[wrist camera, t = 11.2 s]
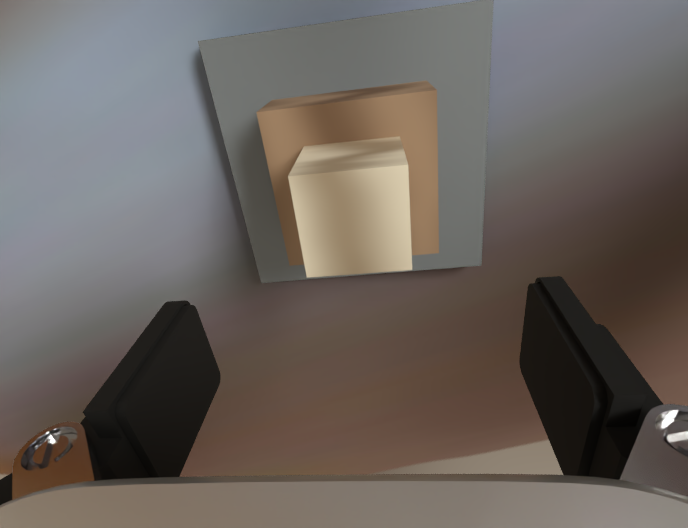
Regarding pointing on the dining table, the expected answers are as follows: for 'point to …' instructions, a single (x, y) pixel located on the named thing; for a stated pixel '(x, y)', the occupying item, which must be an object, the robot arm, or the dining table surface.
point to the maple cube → (353, 207)
